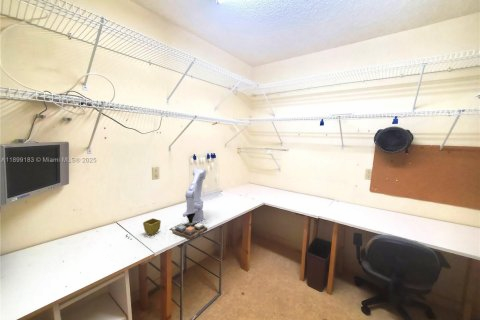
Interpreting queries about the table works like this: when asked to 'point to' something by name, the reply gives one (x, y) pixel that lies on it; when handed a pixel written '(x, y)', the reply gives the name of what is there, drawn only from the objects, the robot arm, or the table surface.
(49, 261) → the table surface
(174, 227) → the card
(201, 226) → the key cream
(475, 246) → the table surface
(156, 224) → the flower pot
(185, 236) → the keypad
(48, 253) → the table surface
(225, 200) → the table surface
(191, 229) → the key terracotta
